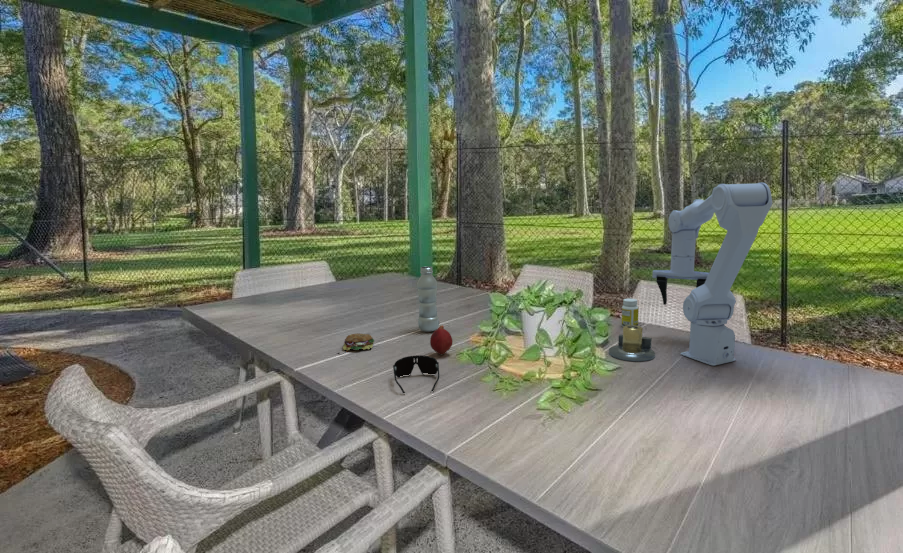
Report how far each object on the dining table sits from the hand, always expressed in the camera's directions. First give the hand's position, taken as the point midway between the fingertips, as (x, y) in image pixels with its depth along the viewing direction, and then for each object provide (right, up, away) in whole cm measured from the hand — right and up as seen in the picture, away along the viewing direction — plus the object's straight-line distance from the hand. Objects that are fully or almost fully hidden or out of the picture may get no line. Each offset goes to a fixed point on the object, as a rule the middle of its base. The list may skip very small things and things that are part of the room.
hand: (680, 305), depth 133 cm
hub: (-16, -11, -8) cm, 21 cm away
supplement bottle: (-8, -8, +17) cm, 20 cm away
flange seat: (-16, -12, -8) cm, 22 cm away
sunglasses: (-70, -17, -23) cm, 76 cm away
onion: (-65, -13, -4) cm, 66 cm away
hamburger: (-89, -13, +3) cm, 90 cm away
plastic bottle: (-69, -9, +19) cm, 72 cm away
